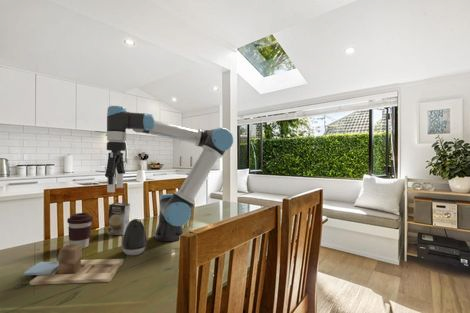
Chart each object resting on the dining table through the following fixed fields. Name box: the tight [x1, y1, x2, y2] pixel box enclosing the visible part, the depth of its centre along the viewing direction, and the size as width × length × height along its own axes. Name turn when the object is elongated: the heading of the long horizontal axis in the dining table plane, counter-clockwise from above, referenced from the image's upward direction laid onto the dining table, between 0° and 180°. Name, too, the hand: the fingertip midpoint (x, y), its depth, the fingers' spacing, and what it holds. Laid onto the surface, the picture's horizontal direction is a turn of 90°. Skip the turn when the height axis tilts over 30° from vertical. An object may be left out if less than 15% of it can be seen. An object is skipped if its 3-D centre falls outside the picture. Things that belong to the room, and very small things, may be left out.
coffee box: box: [106, 202, 131, 236], centre depth 133 cm, size 9×6×16 cm
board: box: [29, 258, 125, 286], centre depth 88 cm, size 24×16×2 cm, turn 100°
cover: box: [22, 254, 59, 276], centre depth 88 cm, size 8×12×3 cm, turn 10°
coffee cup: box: [67, 212, 94, 250], centre depth 112 cm, size 10×10×15 cm
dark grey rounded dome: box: [121, 218, 148, 256], centre depth 107 cm, size 10×10×15 cm
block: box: [58, 244, 82, 274], centre depth 87 cm, size 5×5×9 cm
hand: (115, 189), depth 107 cm, fingers open, 13 cm apart
